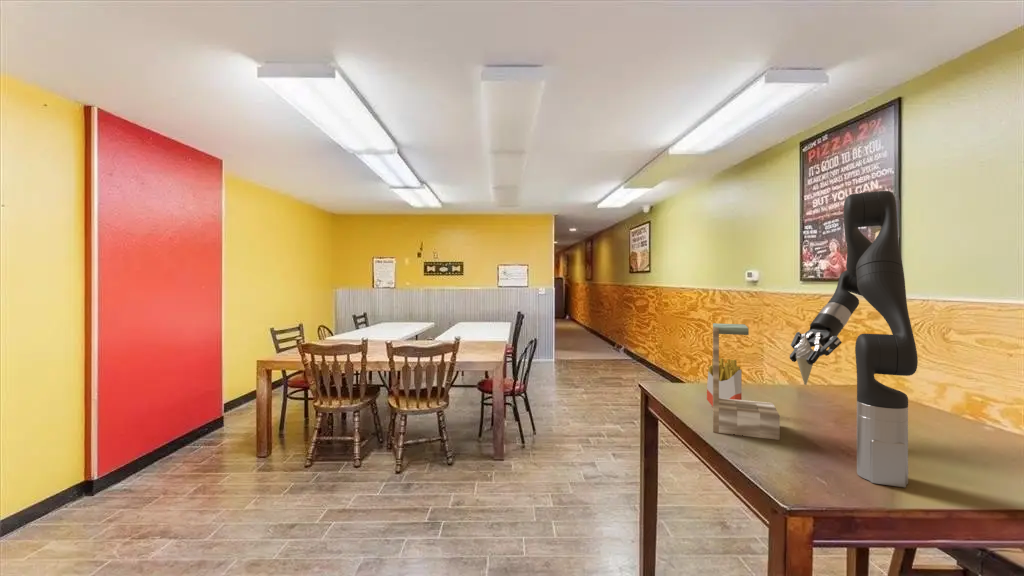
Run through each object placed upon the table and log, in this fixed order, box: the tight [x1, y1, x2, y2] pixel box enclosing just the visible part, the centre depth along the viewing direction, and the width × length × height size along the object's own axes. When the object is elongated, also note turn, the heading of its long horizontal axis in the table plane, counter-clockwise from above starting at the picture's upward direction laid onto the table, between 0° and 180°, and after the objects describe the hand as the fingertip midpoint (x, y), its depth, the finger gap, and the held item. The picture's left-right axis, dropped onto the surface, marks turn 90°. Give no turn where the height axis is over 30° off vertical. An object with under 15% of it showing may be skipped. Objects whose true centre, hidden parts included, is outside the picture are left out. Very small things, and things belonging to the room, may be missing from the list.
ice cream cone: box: [796, 336, 814, 386], centre depth 138 cm, size 5×5×15 cm
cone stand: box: [712, 323, 781, 441], centre depth 143 cm, size 16×18×32 cm
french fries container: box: [706, 357, 743, 407], centre depth 166 cm, size 5×11×18 cm, turn 34°
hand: (800, 361), depth 137 cm, fingers closed on ice cream cone, 5 cm apart
